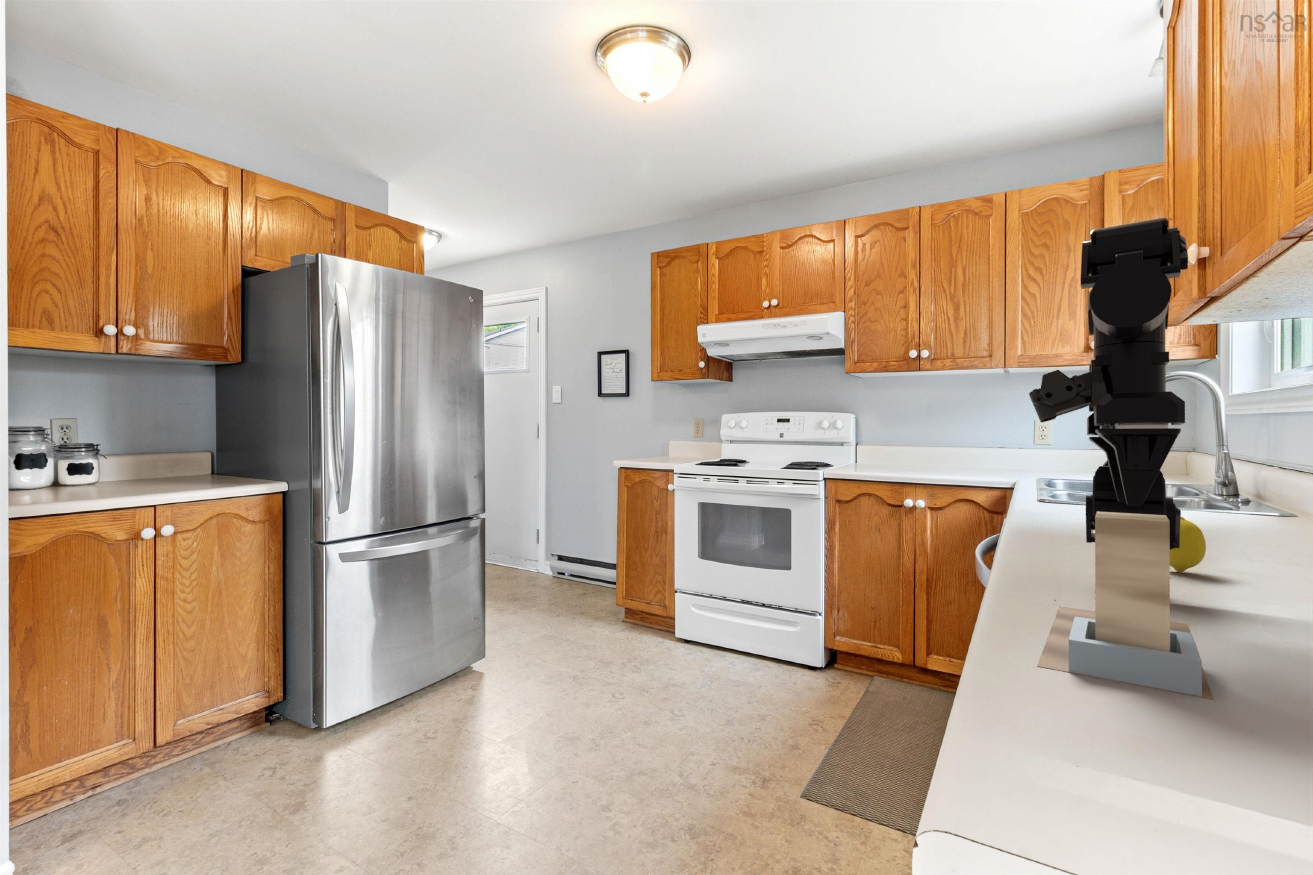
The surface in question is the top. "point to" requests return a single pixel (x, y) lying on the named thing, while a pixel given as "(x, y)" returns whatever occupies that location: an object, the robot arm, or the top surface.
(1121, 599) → the beech pillar
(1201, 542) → the lemon
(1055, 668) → the tan flat plate
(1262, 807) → the top surface
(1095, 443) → the robot arm
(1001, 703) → the top surface
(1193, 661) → the slate socket block
